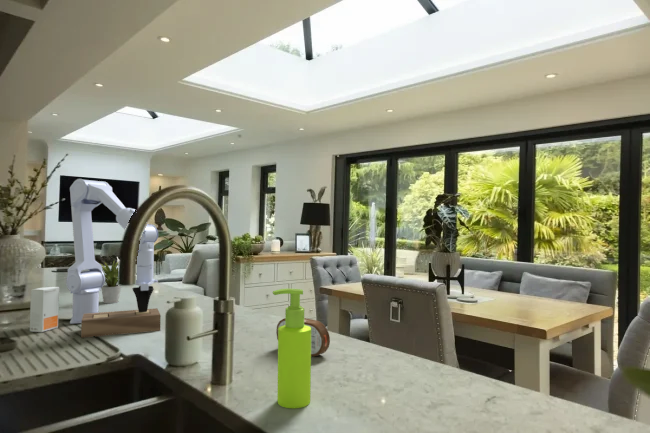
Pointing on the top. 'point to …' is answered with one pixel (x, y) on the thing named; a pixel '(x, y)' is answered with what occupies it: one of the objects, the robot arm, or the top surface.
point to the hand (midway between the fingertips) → (142, 311)
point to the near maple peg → (100, 316)
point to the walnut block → (119, 323)
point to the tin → (314, 336)
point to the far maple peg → (142, 312)
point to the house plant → (111, 284)
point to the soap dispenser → (294, 355)
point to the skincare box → (44, 309)
